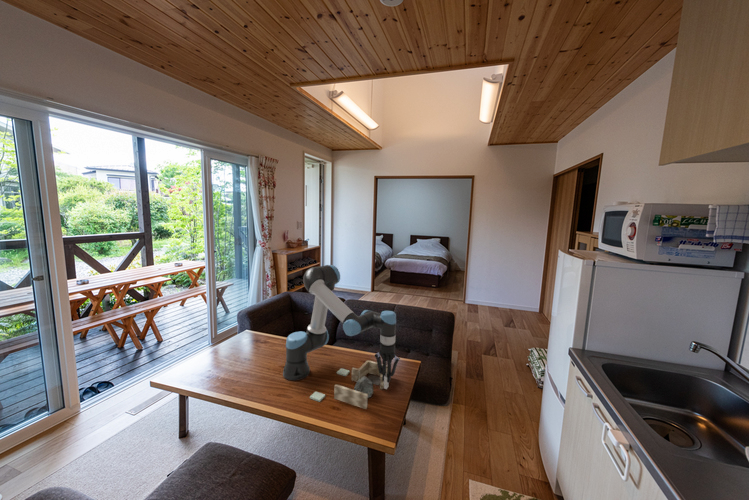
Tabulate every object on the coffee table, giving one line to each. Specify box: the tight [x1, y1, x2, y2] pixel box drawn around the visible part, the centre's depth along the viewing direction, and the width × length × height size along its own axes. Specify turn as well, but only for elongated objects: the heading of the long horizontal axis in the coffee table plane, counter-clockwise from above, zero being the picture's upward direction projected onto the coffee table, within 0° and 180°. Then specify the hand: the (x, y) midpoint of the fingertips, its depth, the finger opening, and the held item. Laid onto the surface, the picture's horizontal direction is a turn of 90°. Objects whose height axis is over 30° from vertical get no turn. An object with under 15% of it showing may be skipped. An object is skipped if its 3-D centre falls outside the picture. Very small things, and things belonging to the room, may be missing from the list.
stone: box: [353, 376, 374, 399], centre depth 149 cm, size 10×10×10 cm
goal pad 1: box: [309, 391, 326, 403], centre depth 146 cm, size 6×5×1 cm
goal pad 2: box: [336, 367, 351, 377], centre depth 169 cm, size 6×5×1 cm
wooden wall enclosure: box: [333, 360, 387, 410], centre depth 156 cm, size 19×32×7 cm, turn 156°
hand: (386, 387), depth 144 cm, fingers closed
